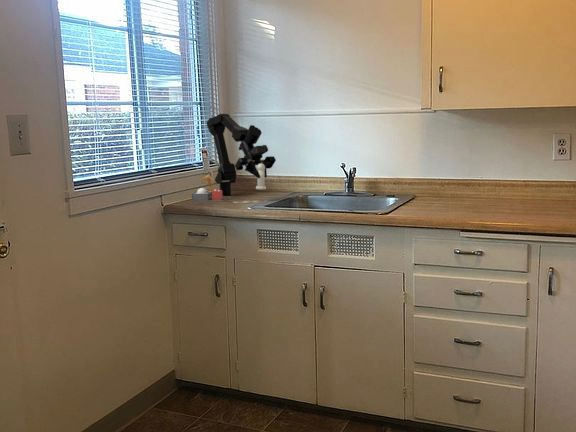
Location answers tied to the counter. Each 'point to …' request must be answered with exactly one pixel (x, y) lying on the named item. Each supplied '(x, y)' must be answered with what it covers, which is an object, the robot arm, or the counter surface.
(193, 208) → the counter surface
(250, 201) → the track board
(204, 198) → the popper base
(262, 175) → the pawn
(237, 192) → the counter surface
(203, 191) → the dome
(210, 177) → the figurine
